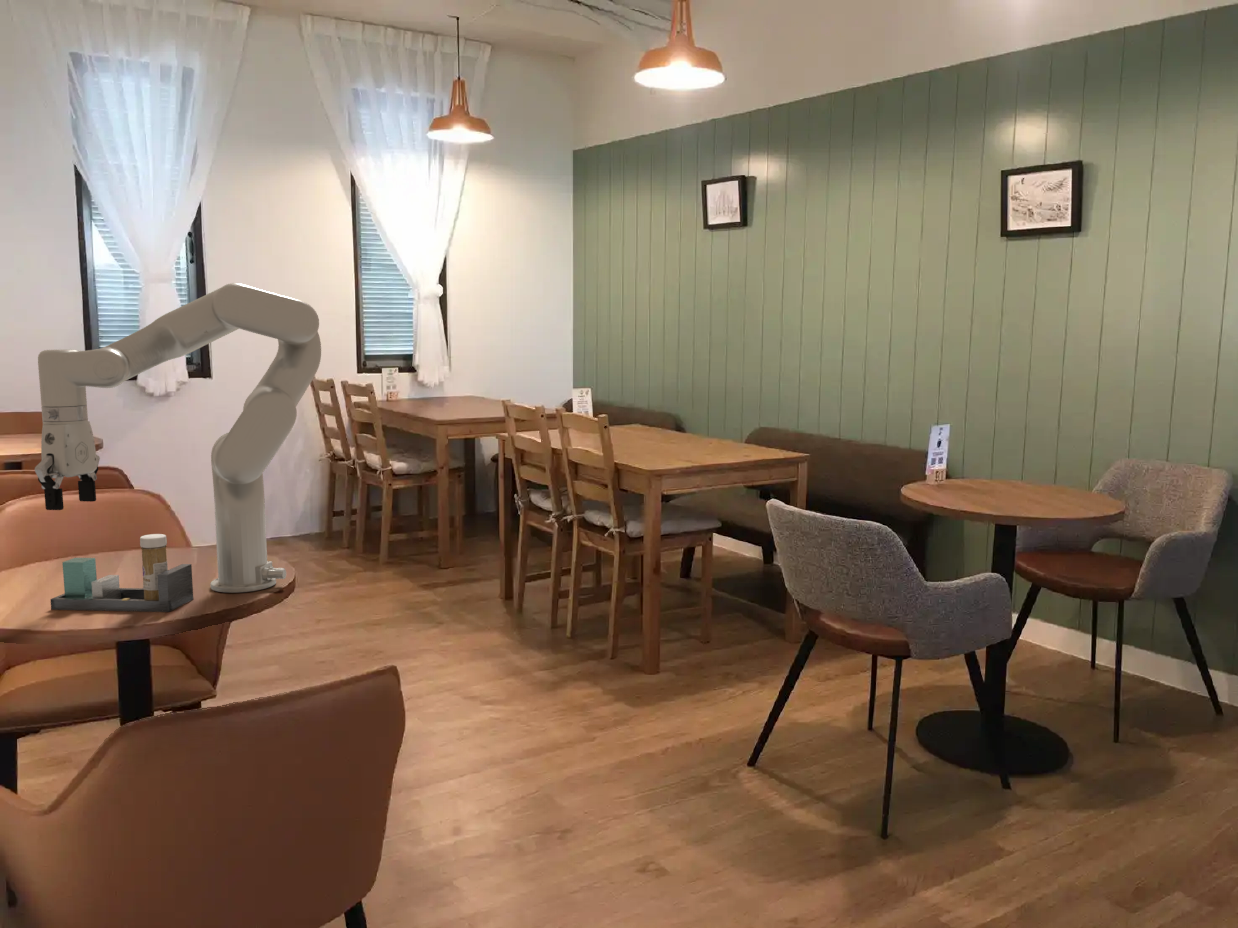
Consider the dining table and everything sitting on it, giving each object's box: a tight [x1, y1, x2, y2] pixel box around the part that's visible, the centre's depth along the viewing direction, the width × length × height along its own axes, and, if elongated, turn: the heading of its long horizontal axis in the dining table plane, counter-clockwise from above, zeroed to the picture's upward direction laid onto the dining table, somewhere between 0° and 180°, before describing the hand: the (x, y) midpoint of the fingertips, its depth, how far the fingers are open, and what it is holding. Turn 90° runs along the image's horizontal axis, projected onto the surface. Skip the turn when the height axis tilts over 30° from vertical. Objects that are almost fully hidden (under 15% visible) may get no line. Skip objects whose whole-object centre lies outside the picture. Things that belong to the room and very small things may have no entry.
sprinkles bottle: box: [139, 533, 169, 600], centre depth 190 cm, size 5×5×13 cm
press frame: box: [49, 563, 194, 613], centre depth 191 cm, size 23×9×7 cm, turn 85°
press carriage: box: [62, 557, 121, 599], centre depth 192 cm, size 8×6×8 cm
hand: (71, 505), depth 191 cm, fingers open, 9 cm apart
